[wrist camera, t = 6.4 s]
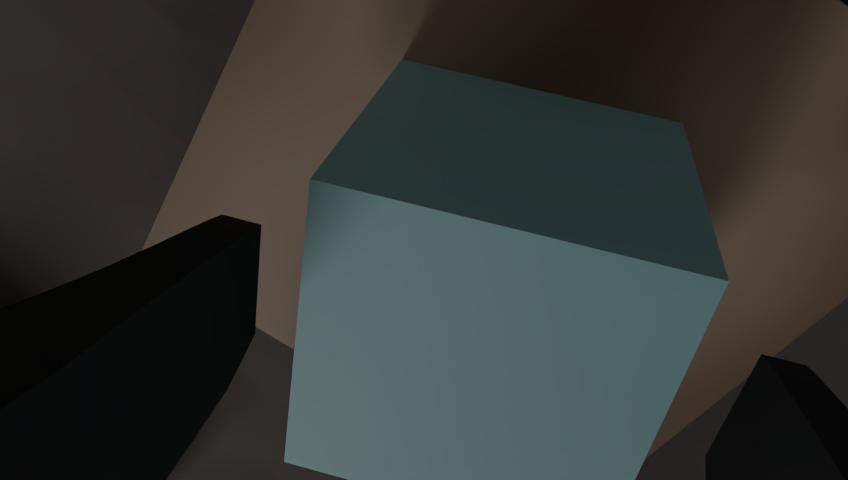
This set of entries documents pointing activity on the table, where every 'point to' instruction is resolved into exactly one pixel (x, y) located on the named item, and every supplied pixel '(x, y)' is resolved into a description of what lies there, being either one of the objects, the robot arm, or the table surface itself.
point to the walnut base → (576, 78)
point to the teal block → (497, 286)
